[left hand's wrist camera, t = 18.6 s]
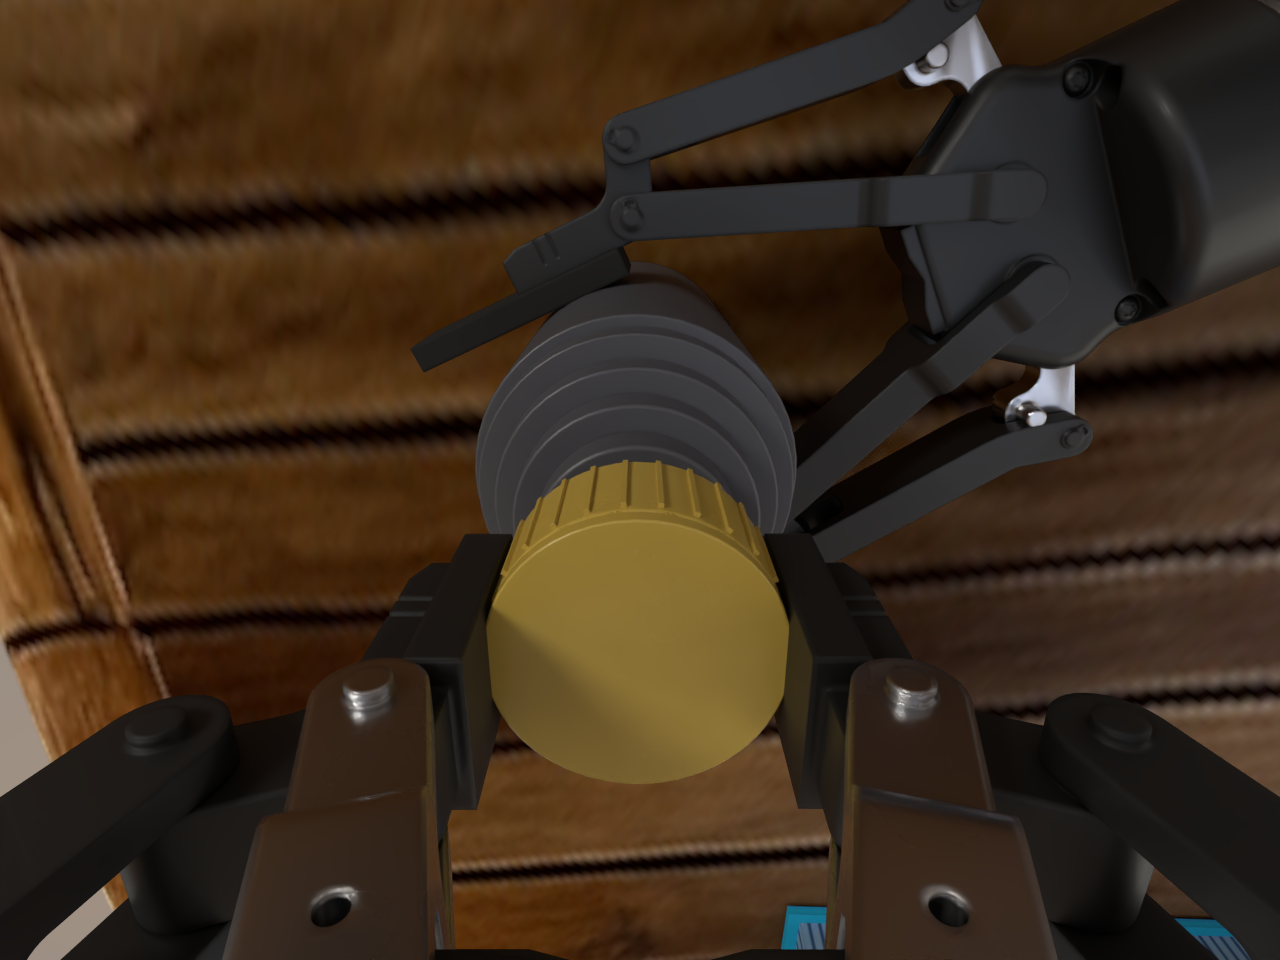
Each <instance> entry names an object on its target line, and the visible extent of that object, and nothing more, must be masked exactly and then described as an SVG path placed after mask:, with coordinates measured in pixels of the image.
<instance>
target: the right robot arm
mask: <svg viewBox="0 0 1280 960" xmlns="http://www.w3.org/2000/svg"><path fill="white" fill-rule="evenodd" d="M982 1H983V0H908V1H907V2H906V3H905V4H903V5H902V6H901V7H900V8H899V9H897V10H896V11H895V12H894V13H892V14H891V15H890V16H889V17H887V18H886V19H885V20H884V21H882V22H881V23H880V24H878V25H875V26H872V27H869V28H866V29H863V30H860V31H858V32H855V33H852V34H849V35H846V36H843V37H840V38H837V39H834V40H832V41H829V42H826V43H823V44H820V45H817V46H814V47H811V48H808V49H806V50H803V51H800V52H797V53H794V54H791V55H788V56H785V57H782V58H780V59H777V60H774V61H771V62H768V63H765V64H762V65H759V66H756V67H754V68H751V69H748V70H745V71H742V72H739V73H736V74H733V75H730V76H728V77H725V78H722V79H719V80H716V81H713V82H710V83H707V84H704V85H702V86H699V87H696V88H693V89H690V90H687V91H684V92H681V93H678V94H676V95H673V96H670V97H667V98H664V99H661V100H658V101H655V102H652V103H650V104H647V105H644V106H641V107H638V108H635V109H632V110H629V111H626V112H624V113H621V114H618V115H616V116H615V117H613V118H611V119H610V120H609V121H608V123H607V124H606V125H605V127H604V130H603V134H602V143H603V148H604V159H605V170H606V191H605V195H604V197H603V199H602V201H601V202H600V204H599V205H598V206H597V207H596V208H595V209H593V210H592V211H590V212H588V213H586V214H584V215H582V216H580V217H578V218H576V219H574V220H572V221H570V222H568V223H566V224H564V225H562V226H560V227H558V228H556V229H554V230H552V231H550V232H548V233H546V234H544V235H542V236H540V237H538V238H536V239H534V240H532V241H529V242H527V243H525V244H523V245H521V246H519V247H517V248H515V249H514V250H513V252H512V253H511V254H510V255H509V256H508V257H507V259H506V260H505V261H504V262H503V265H504V267H505V269H506V271H507V273H508V275H509V277H510V279H511V281H512V283H513V285H514V287H515V289H516V291H517V292H516V293H514V294H512V295H510V296H508V297H506V298H504V299H502V300H500V301H498V302H496V303H493V304H491V305H489V306H487V307H485V308H483V309H481V310H479V311H477V312H475V313H473V314H471V315H469V316H467V317H465V318H462V319H460V320H458V321H456V322H454V323H452V324H450V325H448V326H446V327H444V328H442V329H440V330H438V331H436V332H434V333H433V334H431V335H430V336H428V337H427V338H425V339H424V340H422V341H421V342H419V343H418V344H417V345H415V346H414V347H412V348H411V351H412V353H413V355H414V356H415V358H416V360H417V362H418V363H419V365H420V367H421V369H422V370H423V372H426V371H428V370H430V369H432V368H434V367H436V366H439V365H441V364H443V363H445V362H447V361H449V360H451V359H453V358H455V357H458V356H460V355H462V354H464V353H466V352H468V351H470V350H472V349H474V348H476V347H479V346H481V345H483V344H485V343H487V342H489V341H491V340H493V339H495V338H498V337H500V336H502V335H504V334H506V333H508V332H510V331H512V330H514V329H516V328H519V327H521V326H523V325H525V324H527V323H529V322H531V321H533V320H535V319H537V318H540V317H542V316H544V315H546V314H548V313H550V312H552V311H554V310H556V309H559V308H561V307H563V306H565V305H567V304H569V303H571V302H573V301H575V300H577V299H579V298H581V297H583V296H585V295H588V294H590V293H592V292H594V291H596V290H598V289H601V288H603V287H605V286H607V285H609V284H611V283H613V282H615V281H617V280H620V279H622V278H624V277H626V276H628V275H629V273H630V268H631V264H630V261H629V259H628V257H627V255H626V253H625V250H624V248H623V246H625V245H627V244H629V243H631V242H633V241H645V240H661V239H676V238H692V237H708V236H724V235H740V234H756V233H771V232H787V231H803V230H819V229H835V228H851V227H879V229H880V232H881V235H882V238H883V241H884V244H885V247H886V251H887V252H888V254H889V255H890V257H891V258H892V260H893V261H894V263H895V264H896V266H897V267H898V269H899V270H900V272H901V275H902V297H903V303H904V306H905V309H906V312H907V315H908V318H909V321H908V322H907V323H906V324H905V325H904V326H902V327H901V328H900V329H899V330H898V331H897V332H896V333H895V334H894V335H893V336H892V337H891V338H890V339H889V340H888V342H887V343H886V346H885V349H884V350H883V352H882V353H881V354H880V355H879V356H878V357H877V358H876V359H874V360H873V361H872V362H871V363H870V364H869V365H868V366H867V367H866V368H865V369H863V370H862V371H861V372H860V373H859V374H858V375H857V376H856V377H855V378H854V379H852V380H851V381H850V382H849V383H848V384H847V385H846V386H845V387H844V388H843V389H842V390H840V391H839V392H838V393H837V394H836V395H835V396H834V397H833V398H832V399H831V400H829V401H828V402H827V403H826V404H825V405H824V406H823V407H822V408H821V409H820V410H818V411H817V412H816V413H815V414H814V415H813V416H812V417H811V418H810V419H809V420H807V421H806V422H805V423H804V424H803V425H802V426H801V427H800V428H799V429H798V430H797V431H795V432H794V433H793V434H794V439H795V447H796V455H797V467H796V482H795V488H794V494H793V499H792V503H791V509H790V513H789V516H788V520H787V523H786V526H785V529H784V531H783V533H810V534H811V535H812V537H813V539H814V541H815V543H816V545H817V547H818V549H819V551H820V553H821V555H822V557H823V559H824V561H825V563H834V562H836V561H838V560H840V559H842V558H844V557H846V556H848V555H850V554H851V553H853V552H855V551H857V550H859V549H861V548H863V547H865V546H867V545H869V544H871V543H872V542H874V541H876V540H878V539H880V538H882V537H884V536H886V535H888V534H890V533H892V532H893V531H895V530H897V529H899V528H901V527H903V526H905V525H907V524H909V523H911V522H913V521H914V520H916V519H918V518H920V517H922V516H924V515H926V514H928V513H930V512H932V511H934V510H935V509H937V508H939V507H941V506H943V505H945V504H947V503H949V502H951V501H953V500H955V499H956V498H958V497H960V496H962V495H964V494H966V493H968V492H970V491H972V490H974V489H976V488H978V487H979V486H981V485H983V484H985V483H987V482H989V481H991V480H993V479H995V478H997V477H999V476H1000V475H1002V474H1004V473H1006V472H1008V471H1010V470H1012V469H1014V468H1016V467H1021V466H1026V465H1031V464H1036V463H1042V462H1047V461H1052V460H1057V459H1062V458H1068V457H1073V456H1075V455H1078V454H1081V453H1082V452H1083V451H1085V450H1086V449H1087V448H1088V446H1089V445H1090V443H1091V442H1092V438H1093V429H1092V426H1091V425H1090V424H1089V423H1088V422H1087V421H1085V420H1083V419H1082V418H1080V417H1078V416H1076V415H1075V364H1076V363H1078V362H1080V361H1081V360H1083V359H1084V358H1086V357H1087V356H1088V355H1089V354H1090V353H1091V352H1092V351H1093V350H1094V349H1095V348H1096V347H1097V346H1098V344H1100V343H1101V342H1102V341H1103V340H1104V339H1105V338H1106V337H1108V336H1109V335H1110V334H1112V333H1113V332H1115V331H1116V330H1118V329H1120V328H1122V327H1124V326H1127V325H1130V324H1133V323H1136V322H1139V321H1142V320H1146V319H1149V318H1152V317H1155V316H1158V315H1160V314H1163V313H1166V312H1168V311H1171V310H1173V309H1176V308H1178V307H1181V306H1183V305H1185V304H1188V303H1190V302H1193V301H1195V300H1197V299H1200V298H1202V297H1205V296H1207V295H1210V294H1212V293H1214V292H1217V291H1219V290H1222V289H1224V288H1226V287H1229V286H1231V285H1234V284H1236V283H1238V282H1241V281H1243V280H1246V279H1248V278H1251V277H1253V276H1255V275H1258V274H1260V273H1263V272H1265V271H1267V270H1270V269H1272V268H1274V267H1277V266H1279V265H1280V0H1179V1H1177V2H1175V3H1173V4H1171V5H1169V6H1167V7H1165V8H1163V9H1161V10H1159V11H1156V12H1154V13H1152V14H1150V15H1148V16H1146V17H1144V18H1142V19H1140V20H1138V21H1135V22H1133V23H1131V24H1129V25H1127V26H1125V27H1123V28H1121V29H1119V30H1117V31H1115V32H1112V33H1110V34H1108V35H1106V36H1104V37H1102V38H1100V39H1098V40H1096V41H1094V42H1092V43H1089V44H1087V45H1085V46H1083V47H1081V48H1079V49H1077V50H1075V51H1073V52H1071V53H1068V54H1066V55H1064V56H1062V57H1060V58H1058V59H1056V60H1054V61H1052V62H1049V63H1047V64H1045V65H1040V66H1026V65H1016V64H1013V65H1005V66H1002V65H1001V63H1000V61H999V59H998V57H997V55H996V53H995V51H994V49H993V48H992V46H991V44H990V42H989V40H988V38H987V36H986V34H985V32H984V30H983V28H982V26H981V24H980V22H979V20H978V18H977V16H976V13H977V12H978V11H979V8H980V6H981V4H982ZM892 74H893V76H894V78H895V80H896V81H897V83H898V84H899V85H900V86H901V87H903V88H904V89H907V90H918V89H921V88H924V87H927V86H930V85H932V84H941V85H944V86H946V87H947V88H949V89H950V90H951V91H952V93H953V94H954V96H953V98H952V99H951V101H950V103H949V104H948V106H947V107H946V109H945V110H944V112H943V113H942V115H941V117H940V118H939V120H938V121H937V123H936V124H935V126H934V127H933V129H932V130H931V132H930V134H929V135H928V137H927V138H926V140H925V141H924V143H923V144H922V146H921V148H920V149H919V151H918V152H917V154H916V155H915V157H914V158H913V160H912V162H911V163H910V165H909V166H908V168H907V169H906V171H905V172H904V174H903V175H899V176H884V177H868V178H853V179H839V180H824V181H808V182H793V183H778V184H762V185H747V186H732V187H716V188H701V189H685V190H670V191H655V192H652V183H651V169H650V160H653V159H656V158H659V157H662V156H665V155H668V154H671V153H674V152H677V151H680V150H682V149H685V148H688V147H691V146H694V145H697V144H700V143H703V142H706V141H709V140H712V139H715V138H718V137H721V136H724V135H727V134H730V133H733V132H736V131H739V130H742V129H745V128H748V127H751V126H754V125H757V124H760V123H763V122H766V121H769V120H772V119H775V118H777V117H780V116H783V115H786V114H789V113H792V112H795V111H798V110H801V109H804V108H807V107H810V106H813V105H816V104H819V103H822V102H825V101H828V100H831V99H834V98H837V97H840V96H843V95H846V94H849V93H851V92H854V91H856V90H859V89H861V88H864V87H866V86H868V85H871V84H873V83H875V82H877V81H879V80H882V79H884V78H886V77H888V76H890V75H892ZM991 358H994V359H999V360H1004V361H1008V362H1013V363H1018V364H1023V365H1026V369H1025V372H1024V374H1023V376H1022V377H1021V378H1020V380H1019V381H1017V382H1016V383H1015V384H1013V385H1011V386H1009V387H1007V388H1004V389H1002V390H999V391H997V392H996V393H995V394H994V396H993V400H992V401H993V406H989V407H985V408H981V409H978V410H976V411H973V412H970V413H967V414H965V415H963V416H961V417H959V418H957V419H955V420H953V421H951V422H949V423H948V424H946V425H944V426H942V427H940V428H938V429H937V430H935V431H933V432H931V433H929V434H927V435H926V436H924V437H922V438H920V439H918V440H916V441H915V442H913V443H911V444H909V445H907V446H905V447H904V448H902V449H900V450H898V451H896V452H895V453H893V454H891V455H889V456H887V457H885V458H884V459H882V460H880V461H878V462H876V463H874V464H873V465H871V466H869V467H867V468H865V469H863V470H862V471H860V472H858V473H856V474H854V475H853V476H851V477H849V478H847V479H845V480H843V481H842V482H840V483H838V484H836V485H834V484H835V483H836V482H837V481H838V480H839V479H840V478H842V477H843V476H844V475H845V474H846V473H847V472H848V471H850V470H851V469H852V468H853V467H854V466H855V465H857V464H858V463H859V462H860V461H861V460H862V459H863V458H865V457H866V456H867V455H868V454H869V453H870V452H872V451H873V450H874V449H875V448H876V447H877V446H878V445H880V444H881V443H882V442H883V441H884V440H885V439H886V438H888V437H889V436H890V435H891V434H892V433H893V432H895V431H896V430H897V429H898V428H899V427H900V426H901V425H903V424H904V423H905V422H906V421H907V420H908V419H910V418H911V417H912V416H913V415H914V414H915V413H916V412H918V411H919V410H920V409H921V408H922V407H923V406H924V405H926V404H927V403H928V402H929V401H930V400H932V399H933V398H934V397H936V396H939V395H943V394H947V393H949V392H951V391H953V390H954V389H955V388H957V387H958V386H959V385H960V384H962V383H963V382H964V381H965V380H966V379H967V378H969V377H970V376H971V375H972V374H973V373H974V372H976V371H977V370H978V369H979V368H980V367H981V366H982V365H984V364H985V363H986V362H987V361H988V360H989V359H991ZM832 485H834V486H832ZM831 486H832V487H831ZM830 487H831V488H830Z"/></svg>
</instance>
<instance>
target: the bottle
mask: <svg viewBox="0 0 1280 960" xmlns="http://www.w3.org/2000/svg"><path fill="white" fill-rule="evenodd" d="M630 264H631V268H630V273H629V275H628V276H626V277H624V278H622V279H620V280H617V281H615V282H613V283H611V284H609V285H607V286H605V287H603V288H601V289H598V290H596V291H594V292H592V293H590V294H588V295H585V296H583V297H581V298H579V299H577V300H575V301H573V302H571V303H569V304H567V305H565V306H563V307H561V308H559V309H556V310H554V311H552V312H551V314H550V315H549V316H548V318H547V319H546V321H545V322H544V323H543V325H542V326H541V327H540V329H539V330H538V332H537V333H536V334H535V336H534V337H533V339H532V340H531V341H530V343H529V344H528V345H527V347H526V348H525V350H524V351H523V352H522V354H521V355H520V357H519V358H518V359H517V361H516V362H515V363H514V365H513V366H512V368H511V369H510V370H509V372H508V373H507V375H506V376H505V377H504V379H503V380H502V382H501V383H500V385H499V387H498V388H497V390H496V391H495V393H494V395H493V396H492V398H491V400H490V403H489V405H488V407H487V409H486V412H485V414H484V416H483V420H482V423H481V427H480V431H479V434H478V440H477V447H476V455H475V470H476V482H477V489H478V495H479V499H480V502H481V509H482V512H483V516H484V519H485V523H486V526H487V529H488V531H489V533H490V534H512V536H513V539H514V536H515V533H516V531H517V528H518V525H519V523H520V521H521V520H524V521H525V520H526V519H527V517H528V516H529V514H530V513H531V511H532V510H533V509H534V508H535V505H536V502H537V500H538V499H539V498H540V497H542V498H544V497H546V496H547V495H548V494H549V493H550V492H551V491H552V490H554V489H555V488H557V487H558V486H560V485H561V481H562V480H563V479H565V478H566V479H567V480H569V479H571V478H573V477H575V476H577V475H579V474H581V473H583V472H586V471H589V470H590V468H591V467H592V466H596V467H597V468H598V467H602V466H607V465H611V464H615V463H623V460H628V462H650V463H655V462H656V460H657V461H661V464H665V465H670V466H674V467H677V468H681V469H684V470H687V469H688V468H690V469H692V470H693V473H694V474H696V475H699V476H701V477H703V478H705V479H707V480H708V481H710V482H712V483H713V484H715V483H716V482H717V483H719V484H720V485H721V488H722V490H723V491H724V492H726V493H727V494H728V495H729V496H731V497H732V498H733V499H734V500H735V501H736V502H737V504H738V503H739V502H741V503H742V504H743V505H744V508H745V511H746V514H747V516H748V517H749V519H750V520H751V522H752V523H753V525H754V527H756V526H759V528H760V530H761V533H762V536H764V534H765V533H783V531H784V529H785V526H786V523H787V520H788V516H789V513H790V509H791V503H792V499H793V494H794V488H795V482H796V467H797V455H796V447H795V439H794V434H793V430H792V427H791V423H790V419H789V416H788V414H787V412H786V409H785V407H784V405H783V402H782V400H781V398H780V396H779V395H778V393H777V391H776V390H775V388H774V386H773V385H772V383H771V381H770V380H769V379H768V377H767V376H766V375H765V373H764V372H763V371H762V369H761V368H760V367H759V365H758V364H757V362H756V361H755V360H754V358H753V357H752V356H751V354H750V353H749V352H748V350H747V349H746V348H745V346H744V345H743V344H742V342H741V341H740V340H739V338H738V337H737V336H736V334H735V333H734V332H733V330H732V329H731V328H730V326H729V325H728V324H727V322H726V321H725V320H724V318H723V317H722V316H721V314H720V313H719V311H718V310H717V309H716V307H715V306H714V305H713V303H712V302H711V301H710V299H709V298H708V297H707V296H706V295H705V293H704V292H703V291H702V290H701V289H700V288H699V287H698V286H697V285H696V284H695V283H694V282H692V281H691V280H689V279H688V278H687V277H685V276H684V275H682V274H680V273H678V272H676V271H674V270H673V269H670V268H667V267H664V266H662V265H658V264H653V263H648V262H630Z"/></svg>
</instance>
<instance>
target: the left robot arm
mask: <svg viewBox="0 0 1280 960" xmlns="http://www.w3.org/2000/svg"><path fill="white" fill-rule="evenodd" d="M763 539H764V541H765V544H766V547H767V550H768V552H769V555H770V558H771V561H772V563H773V566H774V569H775V572H776V574H777V577H778V580H779V581H778V582H776V585H777V587H778V590H779V593H780V596H781V599H782V601H783V604H784V607H785V610H786V613H787V616H788V619H789V637H788V649H787V661H786V673H785V685H784V696H783V699H782V701H781V703H780V705H779V708H778V709H777V711H776V713H775V714H774V716H775V719H776V723H777V727H778V731H779V735H780V739H781V743H782V747H783V751H784V755H785V759H786V762H787V766H788V770H789V774H790V778H791V782H792V786H793V790H794V794H795V798H796V802H797V805H798V809H823V810H824V813H825V817H826V820H827V824H828V827H829V830H830V833H831V841H830V849H829V866H828V887H827V909H826V930H825V949H750V950H746V951H743V952H739V953H735V954H731V955H728V956H724V957H720V958H716V959H713V960H1219V959H1218V958H1217V957H1216V956H1215V955H1214V954H1212V953H1211V952H1210V951H1209V950H1208V949H1207V948H1206V947H1205V946H1204V945H1203V944H1202V943H1200V942H1199V941H1198V940H1197V939H1196V938H1195V937H1194V936H1193V935H1192V934H1191V933H1189V932H1188V931H1187V930H1186V929H1185V928H1184V927H1183V926H1182V925H1181V924H1180V923H1179V922H1177V921H1176V920H1175V919H1174V918H1173V917H1172V916H1171V915H1170V914H1169V913H1168V912H1166V911H1165V910H1164V909H1163V908H1162V907H1161V906H1160V905H1159V904H1158V903H1157V902H1156V901H1154V900H1153V899H1152V898H1151V897H1150V896H1149V895H1148V894H1147V893H1146V890H1147V887H1148V884H1149V881H1150V879H1151V876H1152V873H1153V870H1154V867H1155V868H1156V869H1157V870H1158V871H1160V872H1161V873H1162V874H1163V875H1164V876H1165V877H1166V878H1168V879H1169V880H1170V881H1171V882H1172V883H1173V884H1174V885H1176V886H1177V887H1178V888H1179V889H1180V890H1181V891H1183V892H1184V893H1185V894H1186V895H1187V896H1188V897H1189V898H1191V899H1192V900H1193V901H1194V902H1195V903H1196V904H1197V905H1199V906H1200V907H1201V908H1202V909H1203V910H1204V911H1206V912H1207V913H1208V914H1209V915H1210V916H1211V917H1212V918H1214V919H1215V920H1216V921H1217V922H1218V923H1219V924H1220V925H1222V926H1223V927H1224V928H1225V929H1226V930H1227V931H1228V932H1229V933H1230V934H1232V935H1233V936H1234V937H1235V939H1236V940H1237V941H1238V942H1239V943H1240V944H1241V946H1242V947H1243V948H1244V950H1245V951H1246V952H1247V954H1248V956H1249V957H1250V959H1251V960H1280V797H1279V796H1277V795H1276V794H1274V793H1273V792H1271V791H1270V790H1268V789H1267V788H1265V787H1264V786H1262V785H1261V784H1259V783H1258V782H1256V781H1255V780H1253V779H1252V778H1250V777H1249V776H1247V775H1246V774H1244V773H1243V772H1241V771H1240V770H1239V769H1237V768H1236V767H1234V766H1233V765H1231V764H1230V763H1228V762H1227V761H1225V760H1224V759H1222V758H1221V757H1219V756H1218V755H1216V754H1215V753H1213V752H1212V751H1210V750H1209V749H1207V748H1206V747H1204V746H1203V745H1201V744H1200V743H1198V742H1197V741H1195V740H1194V739H1192V738H1191V737H1189V736H1188V735H1186V734H1185V733H1183V732H1182V731H1180V730H1179V729H1177V728H1176V727H1174V726H1173V725H1171V724H1170V723H1168V722H1167V721H1165V720H1164V719H1162V718H1161V717H1159V716H1157V715H1156V714H1154V713H1152V712H1150V711H1148V710H1146V709H1144V708H1142V707H1140V706H1138V705H1135V704H1133V703H1130V702H1128V701H1124V700H1121V699H1118V698H1114V697H1110V696H1106V695H1100V694H1093V693H1073V694H1067V695H1064V696H1061V697H1058V698H1057V699H1055V700H1053V701H1052V703H1051V704H1050V705H1049V707H1048V710H1047V714H1046V718H1045V722H1044V726H1042V725H1037V724H1033V723H1028V722H1023V721H1018V720H1013V719H1008V718H1004V717H999V716H994V715H990V714H986V713H982V712H979V711H976V710H974V707H973V702H972V699H971V696H970V694H969V693H968V691H967V690H966V688H965V687H964V686H963V685H962V684H961V683H960V682H959V681H958V680H956V679H955V678H954V677H952V676H951V675H949V674H948V673H946V672H944V671H942V670H940V669H938V668H936V667H934V666H931V665H929V664H926V663H923V662H919V661H915V660H913V658H912V656H911V655H910V653H909V651H908V649H907V648H906V646H905V644H904V643H903V641H902V639H901V637H900V636H899V634H898V632H897V631H896V629H895V627H894V625H893V624H892V622H891V620H890V619H889V617H888V616H886V612H885V610H884V608H883V607H882V605H881V603H880V602H879V601H877V596H876V595H875V593H874V591H873V590H872V588H871V586H870V584H869V583H868V581H867V579H866V578H865V577H863V576H862V575H860V574H859V573H858V572H856V571H855V570H853V569H852V568H851V567H849V566H848V565H846V564H845V563H825V561H824V559H823V557H822V555H821V553H820V551H819V549H818V547H817V545H816V543H815V541H814V539H813V537H812V535H811V534H810V533H765V534H764V536H763ZM512 541H513V536H512V534H466V535H465V536H464V537H463V539H462V541H461V543H460V545H459V547H458V549H457V551H456V553H455V555H454V557H453V559H452V561H451V563H432V564H430V565H429V566H427V567H426V568H425V569H423V570H422V571H420V572H419V573H418V574H416V575H415V576H413V577H412V578H410V579H409V581H408V583H407V584H406V586H405V588H404V589H403V591H402V593H401V594H400V596H399V601H396V603H395V605H394V606H393V608H392V610H391V611H390V616H389V617H387V618H386V620H385V621H384V623H383V625H382V626H381V628H380V630H379V632H378V633H377V635H376V637H375V638H374V640H373V642H372V643H371V645H370V647H369V648H368V650H367V652H366V653H365V655H364V657H363V658H362V660H361V662H357V663H354V664H351V665H349V666H346V667H344V668H342V669H340V670H338V671H336V672H334V673H332V674H331V675H329V676H328V677H326V678H325V679H324V680H322V681H321V682H320V683H319V684H318V685H317V686H316V687H315V688H314V690H313V691H312V693H311V694H310V696H309V699H308V702H307V706H306V709H304V710H301V711H298V712H295V713H292V714H288V715H284V716H280V717H275V718H270V719H265V720H261V721H256V722H251V723H246V724H241V725H236V726H233V723H232V718H231V714H230V711H229V708H228V707H227V705H226V704H225V703H224V702H222V701H221V700H219V699H217V698H214V697H211V696H205V695H183V696H177V697H171V698H167V699H163V700H159V701H156V702H153V703H150V704H147V705H144V706H142V707H139V708H137V709H135V710H133V711H131V712H129V713H127V714H125V715H123V716H121V717H120V718H118V719H116V720H115V721H113V722H112V723H110V724H109V725H107V726H106V727H104V728H103V729H101V730H100V731H98V732H97V733H95V734H94V735H92V736H91V737H89V738H88V739H86V740H85V741H83V742H82V743H80V744H79V745H77V746H76V747H74V748H73V749H71V750H70V751H68V752H67V753H65V754H64V755H62V756H61V757H59V758H58V759H56V760H55V761H53V762H52V763H50V764H49V765H47V766H46V767H44V768H43V769H41V770H40V771H38V772H37V773H36V774H34V775H33V776H31V777H30V778H28V779H27V780H25V781H24V782H22V783H21V784H19V785H18V786H16V787H15V788H13V789H12V790H10V791H9V792H7V793H6V794H4V795H3V796H1V797H0V960H27V959H28V957H29V956H30V954H31V953H32V952H33V950H34V949H35V948H36V946H37V945H38V944H39V943H40V942H41V941H42V940H43V939H44V938H45V937H46V936H47V935H48V934H49V933H50V932H51V931H52V930H54V929H55V928H56V927H57V926H58V925H59V924H61V923H62V922H63V921H64V920H65V919H66V918H68V917H69V916H70V915H71V914H72V913H73V912H74V911H76V910H77V909H78V908H79V907H80V906H81V905H83V904H84V903H85V902H86V901H87V900H88V899H89V898H91V897H92V896H93V895H94V894H95V893H96V892H97V891H99V890H100V889H101V888H102V887H103V886H104V885H106V884H107V883H108V882H109V881H110V880H111V879H112V878H114V877H115V876H116V875H117V874H118V873H119V872H120V874H121V877H122V880H123V883H124V886H125V889H126V892H127V894H128V897H129V898H128V899H127V900H126V901H124V902H123V903H122V904H121V905H120V906H119V907H118V908H117V909H116V910H115V911H114V912H112V913H111V914H110V915H109V916H108V917H107V918H106V919H105V920H104V921H103V922H101V923H100V924H99V925H98V926H97V927H96V928H95V929H94V930H93V931H92V932H91V933H89V934H88V935H87V936H86V937H85V938H84V939H83V940H82V941H81V942H80V943H79V944H77V945H76V946H75V947H74V948H73V949H72V950H71V951H70V952H69V953H68V954H66V955H65V956H64V957H63V958H62V959H61V960H567V959H564V958H560V957H556V956H552V955H549V954H545V953H541V952H537V951H534V950H530V949H455V931H454V910H453V888H452V867H451V850H450V842H449V834H448V826H447V823H448V820H449V817H450V813H451V810H477V807H478V803H479V799H480V795H481V791H482V788H483V784H484V780H485V776H486V772H487V769H488V765H489V761H490V757H491V753H492V750H493V746H494V742H495V738H496V735H497V731H498V727H499V723H500V719H501V716H502V715H501V714H500V712H499V710H498V708H497V706H496V704H495V702H494V700H493V698H492V689H491V677H490V666H489V654H488V642H487V631H486V621H487V617H488V614H489V610H490V608H491V605H492V597H493V595H494V592H495V589H496V587H497V584H498V581H499V578H500V576H501V571H502V568H503V566H504V563H505V560H506V557H507V555H508V552H509V549H510V547H511V544H512Z"/></svg>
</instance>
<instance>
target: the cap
mask: <svg viewBox="0 0 1280 960" xmlns="http://www.w3.org/2000/svg"><path fill="white" fill-rule="evenodd" d="M778 581H779V580H778V577H777V574H776V572H775V569H774V566H773V563H772V561H771V558H770V555H769V552H768V550H767V547H766V544H765V541H764V539H763V536H762V533H761V530H760V528H759V526H756V527H754V525H753V523H752V522H751V520H750V519H749V517H748V516H747V514H746V511H745V508H744V505H743V504H742V503H741V502H739V503H738V504H737V502H736V501H735V500H734V499H733V498H732V497H731V496H729V495H728V494H727V493H726V492H724V491H723V490H722V488H721V485H720V484H719V483H717V482H716V483H715V484H713V483H712V482H710V481H708V480H707V479H705V478H703V477H701V476H699V475H696V474H694V473H693V470H692V469H690V468H688V469H687V470H684V469H681V468H677V467H674V466H670V465H665V464H661V461H657V460H656V462H655V463H650V462H628V460H623V463H615V464H611V465H607V466H602V467H598V468H597V467H596V466H592V467H591V468H590V470H589V471H586V472H583V473H581V474H579V475H577V476H575V477H573V478H571V479H569V480H567V479H566V478H565V479H563V480H562V481H561V485H560V486H558V487H557V488H555V489H554V490H552V491H551V492H550V493H549V494H548V495H547V496H546V497H544V498H542V497H540V498H539V499H538V500H537V502H536V505H535V508H534V509H533V510H532V511H531V513H530V514H529V516H528V517H527V519H526V520H525V521H524V520H521V521H520V523H519V525H518V528H517V531H516V533H515V536H514V539H513V541H512V544H511V547H510V549H509V552H508V555H507V557H506V560H505V563H504V566H503V568H502V571H501V576H500V578H499V581H498V584H497V587H496V589H495V592H494V595H493V597H492V605H491V608H490V610H489V614H488V617H487V621H486V631H487V642H488V654H489V666H490V677H491V689H492V698H493V700H494V702H495V704H496V706H497V708H498V710H499V712H500V714H501V715H502V716H503V718H504V719H505V721H506V722H507V723H508V725H509V726H510V728H511V729H512V730H513V731H514V732H515V733H516V734H517V735H518V736H519V737H520V738H521V739H522V740H523V741H524V742H525V743H526V744H527V745H529V746H530V747H531V748H532V749H533V750H535V751H536V752H537V753H539V754H540V755H542V756H543V757H545V758H546V759H548V760H550V761H551V762H553V763H555V764H557V765H559V766H561V767H563V768H565V769H567V770H570V771H573V772H575V773H578V774H581V775H583V776H587V777H591V778H595V779H599V780H602V781H609V782H616V783H629V784H647V783H660V782H666V781H672V780H678V779H681V778H685V777H688V776H692V775H696V774H698V773H701V772H703V771H706V770H708V769H711V768H713V767H715V766H717V765H718V764H720V763H722V762H724V761H726V760H728V759H729V758H731V757H732V756H734V755H735V754H737V753H738V752H739V751H741V750H742V749H744V748H745V747H746V746H747V745H748V744H749V743H750V742H752V741H753V740H754V739H755V738H756V737H757V736H758V735H759V734H760V732H761V731H762V730H763V729H764V728H765V727H766V726H767V724H768V723H769V722H770V720H771V719H772V717H773V716H774V714H775V713H776V711H777V709H778V708H779V705H780V703H781V701H782V699H783V696H784V685H785V673H786V661H787V649H788V637H789V619H788V616H787V613H786V610H785V607H784V604H783V601H782V599H781V596H780V593H779V590H778V587H777V585H776V582H778Z"/></svg>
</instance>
